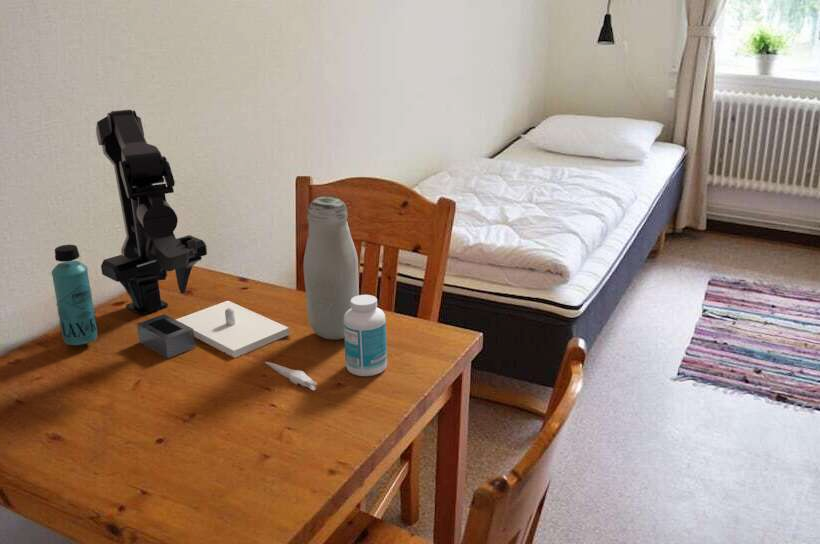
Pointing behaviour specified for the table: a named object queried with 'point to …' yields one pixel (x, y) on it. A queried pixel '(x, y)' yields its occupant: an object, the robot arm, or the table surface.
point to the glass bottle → (329, 267)
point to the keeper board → (233, 328)
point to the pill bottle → (365, 337)
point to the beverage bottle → (73, 297)
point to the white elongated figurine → (294, 376)
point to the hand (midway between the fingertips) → (161, 300)
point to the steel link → (166, 336)
